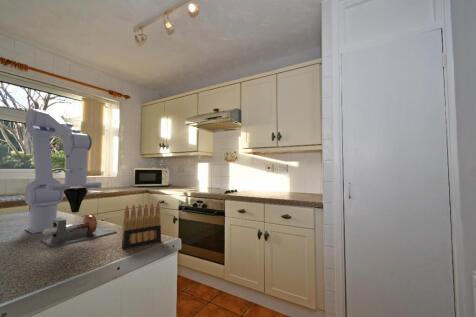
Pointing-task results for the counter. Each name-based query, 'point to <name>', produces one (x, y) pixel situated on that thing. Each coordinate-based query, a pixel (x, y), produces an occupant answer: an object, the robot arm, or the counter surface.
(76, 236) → the eye bracket
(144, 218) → the ammunition clip
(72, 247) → the counter surface
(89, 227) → the hammer
